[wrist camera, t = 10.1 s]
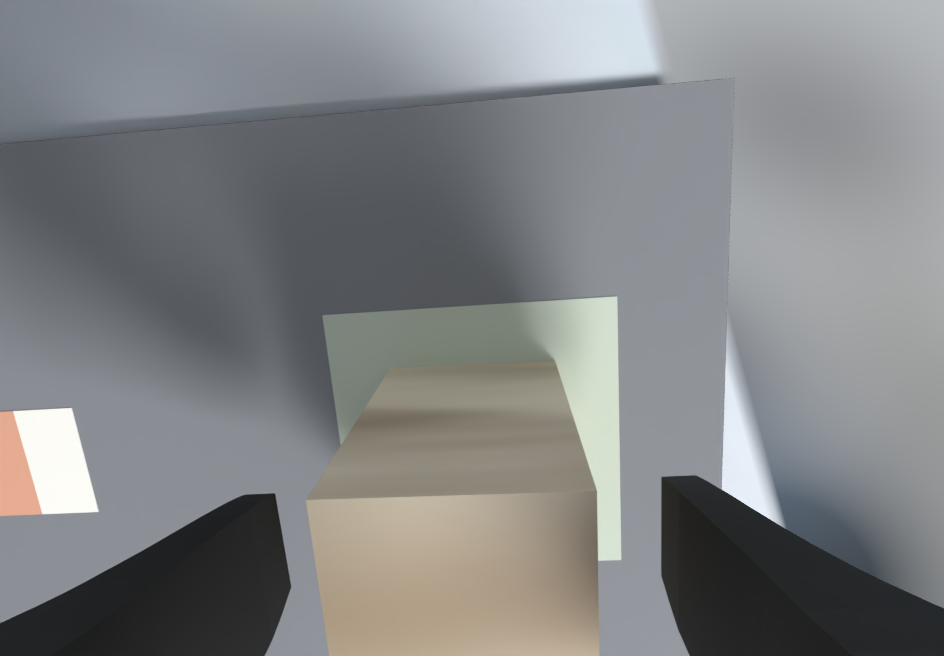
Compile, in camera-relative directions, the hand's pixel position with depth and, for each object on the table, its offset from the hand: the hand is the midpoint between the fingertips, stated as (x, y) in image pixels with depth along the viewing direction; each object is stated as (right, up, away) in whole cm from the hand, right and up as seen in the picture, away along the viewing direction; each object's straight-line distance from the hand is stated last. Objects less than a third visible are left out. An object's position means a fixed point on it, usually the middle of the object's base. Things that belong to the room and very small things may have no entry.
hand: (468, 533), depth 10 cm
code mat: (-6, +1, +4) cm, 7 cm away
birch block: (0, +1, +4) cm, 4 cm away
